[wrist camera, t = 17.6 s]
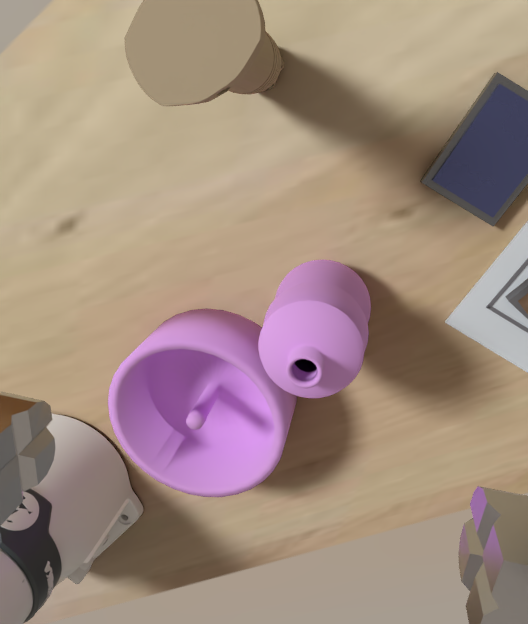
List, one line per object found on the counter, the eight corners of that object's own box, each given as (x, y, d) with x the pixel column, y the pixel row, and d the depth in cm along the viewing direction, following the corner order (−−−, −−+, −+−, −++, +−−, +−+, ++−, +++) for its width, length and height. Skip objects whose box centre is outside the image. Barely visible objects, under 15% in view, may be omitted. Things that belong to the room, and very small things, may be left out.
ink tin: (490, 223, 36) (494, 227, 35) (420, 180, 36) (421, 183, 35) (571, 121, 33) (578, 121, 31) (494, 73, 32) (498, 72, 31)
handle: (317, 73, 35) (279, 50, 21) (241, 121, 37) (162, 127, 23) (285, 6, 34) (223, -66, 20) (209, 59, 36) (106, 27, 22)
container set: (219, 475, 50) (171, 588, 38) (111, 371, 48) (24, 457, 36) (421, 335, 40) (440, 429, 28) (295, 196, 38) (258, 235, 26)
